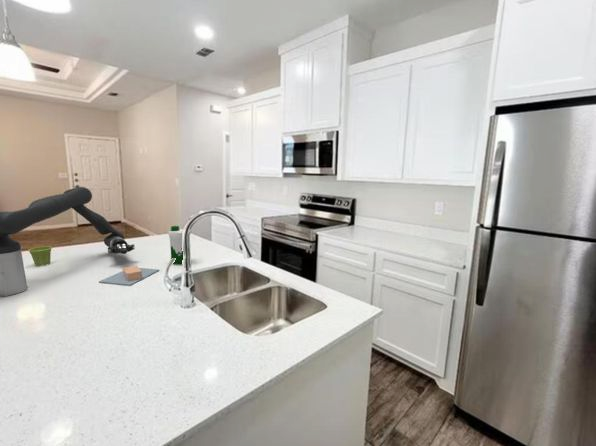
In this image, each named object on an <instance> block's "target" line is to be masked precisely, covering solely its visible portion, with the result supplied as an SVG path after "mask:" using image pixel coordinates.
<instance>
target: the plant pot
mask: <svg viewBox="0 0 596 446" xmlns="http://www.w3.org/2000/svg"><path fill="white" fill-rule="evenodd" d="M52 249H53V247H52V246H49V245H48V246H47V245H45V246H37V247H36V246H35V247H33V248H29V249H28V252H29V254H31V258H32V261H33V264H34V266H35V267H42V266H48V265H50V264H51V257H52V256H51V253H52ZM47 264H48V265H47Z"/></svg>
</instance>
